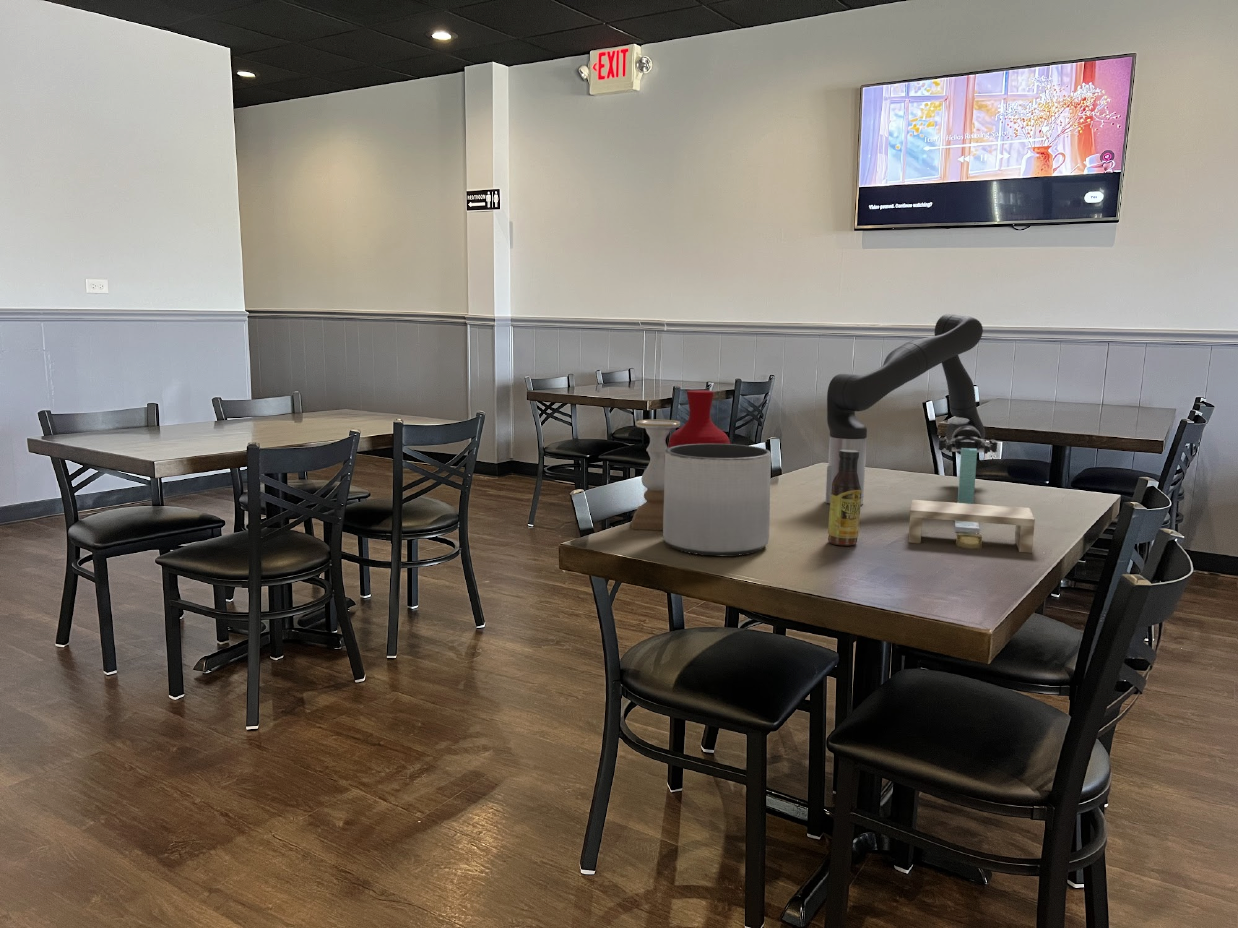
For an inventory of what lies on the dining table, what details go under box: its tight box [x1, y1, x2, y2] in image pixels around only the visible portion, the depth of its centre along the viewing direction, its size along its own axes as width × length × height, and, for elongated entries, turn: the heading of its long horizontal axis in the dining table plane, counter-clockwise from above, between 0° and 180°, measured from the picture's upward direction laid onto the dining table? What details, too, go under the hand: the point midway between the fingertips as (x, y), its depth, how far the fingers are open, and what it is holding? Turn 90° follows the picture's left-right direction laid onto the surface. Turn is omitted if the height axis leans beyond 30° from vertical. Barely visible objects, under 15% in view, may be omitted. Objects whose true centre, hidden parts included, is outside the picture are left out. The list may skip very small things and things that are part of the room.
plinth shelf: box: [908, 499, 1036, 554], centre depth 188 cm, size 24×12×7 cm, turn 70°
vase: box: [667, 389, 731, 448], centre depth 211 cm, size 15×15×30 cm
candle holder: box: [631, 418, 682, 531], centre depth 200 cm, size 11×11×24 cm
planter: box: [662, 443, 772, 556], centre depth 183 cm, size 22×22×20 cm
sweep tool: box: [953, 448, 980, 534], centre depth 206 cm, size 5×24×16 cm, turn 160°
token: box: [955, 532, 983, 550], centre depth 185 cm, size 5×5×2 cm
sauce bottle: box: [827, 450, 862, 547], centre depth 185 cm, size 6×6×20 cm
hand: (968, 448), depth 225 cm, fingers open, 8 cm apart
